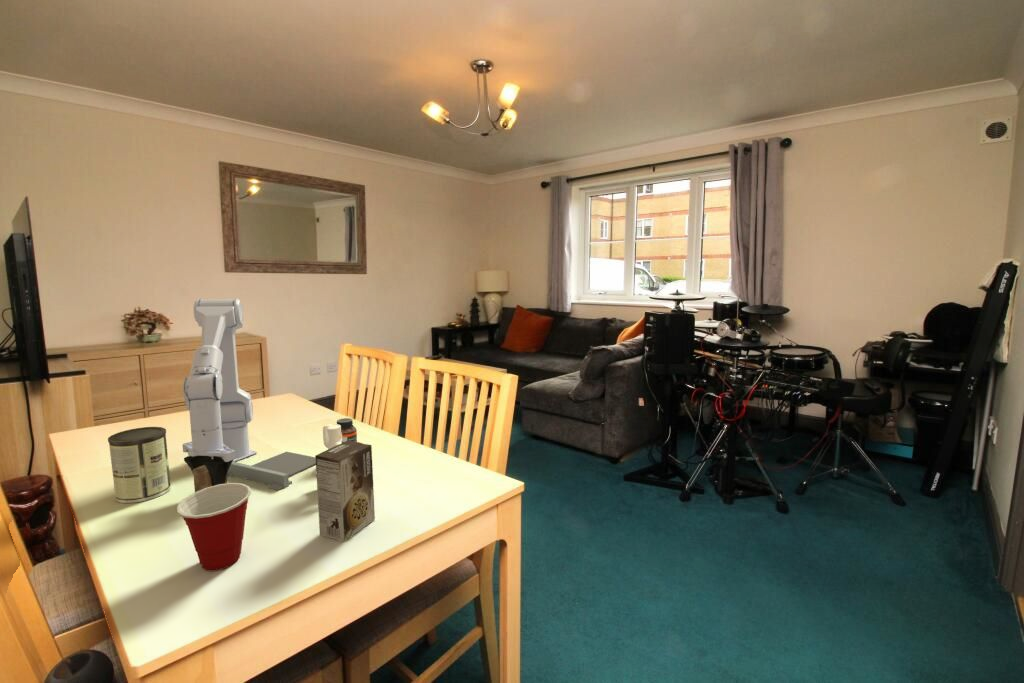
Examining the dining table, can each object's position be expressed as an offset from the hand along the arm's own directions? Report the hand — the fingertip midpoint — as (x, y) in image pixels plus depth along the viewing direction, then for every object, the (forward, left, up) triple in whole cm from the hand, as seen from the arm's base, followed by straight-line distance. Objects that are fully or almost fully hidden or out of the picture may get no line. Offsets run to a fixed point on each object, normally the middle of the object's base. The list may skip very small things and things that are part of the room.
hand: (211, 486), depth 107 cm
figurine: (+22, +15, -3) cm, 27 cm away
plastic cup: (+25, -16, -3) cm, 30 cm away
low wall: (0, +11, -2) cm, 11 cm away
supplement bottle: (+12, +29, -3) cm, 31 cm away
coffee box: (+37, +2, -3) cm, 37 cm away
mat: (0, +21, -2) cm, 21 cm away
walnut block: (0, 0, -2) cm, 2 cm away
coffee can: (-16, -5, -3) cm, 17 cm away
